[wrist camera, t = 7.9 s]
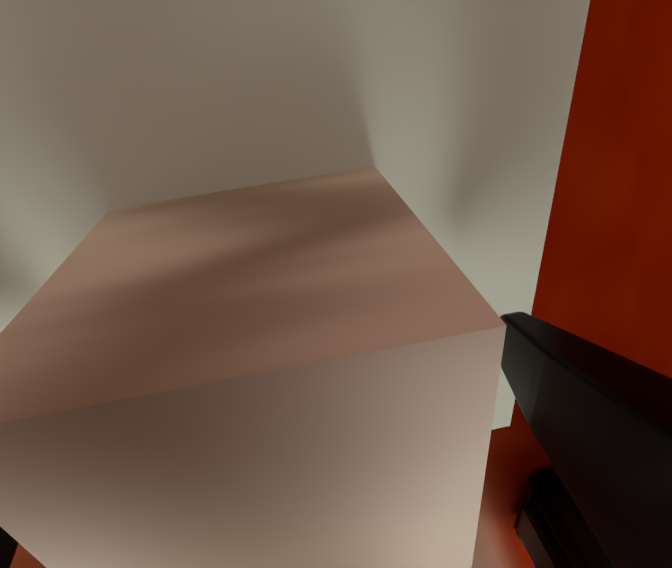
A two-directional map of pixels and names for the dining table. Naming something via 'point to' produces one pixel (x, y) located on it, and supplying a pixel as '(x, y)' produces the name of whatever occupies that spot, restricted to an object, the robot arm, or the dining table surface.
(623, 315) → the dining table surface
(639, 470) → the robot arm
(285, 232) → the maple cube
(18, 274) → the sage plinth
